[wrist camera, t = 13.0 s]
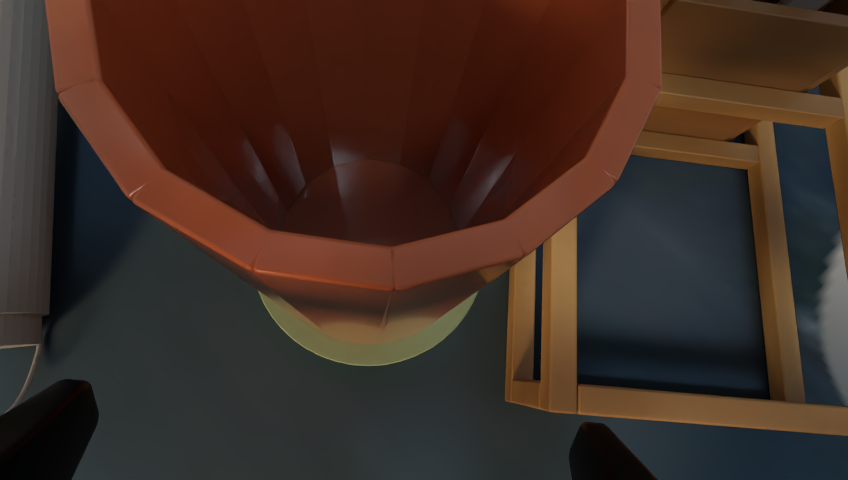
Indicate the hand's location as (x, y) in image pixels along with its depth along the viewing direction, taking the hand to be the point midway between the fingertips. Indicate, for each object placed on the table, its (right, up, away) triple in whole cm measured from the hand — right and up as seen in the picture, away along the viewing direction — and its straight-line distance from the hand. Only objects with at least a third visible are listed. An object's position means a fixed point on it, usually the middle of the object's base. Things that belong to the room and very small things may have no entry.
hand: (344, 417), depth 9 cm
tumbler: (0, +3, +9) cm, 9 cm away
